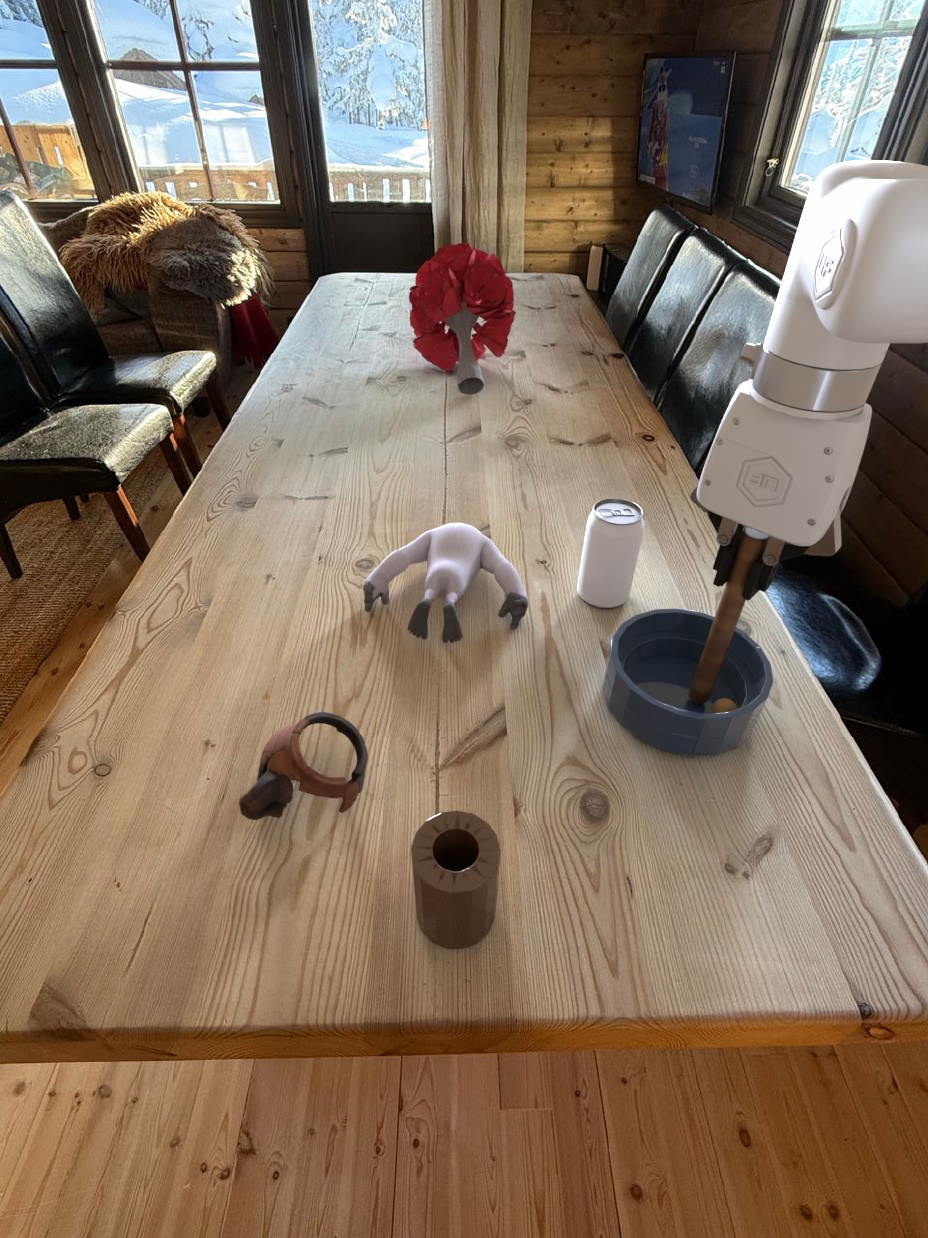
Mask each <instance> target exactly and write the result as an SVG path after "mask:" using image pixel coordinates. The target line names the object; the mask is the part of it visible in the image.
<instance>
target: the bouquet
mask: <svg viewBox="0 0 928 1238" xmlns="http://www.w3.org/2000/svg"><path fill="white" fill-rule="evenodd" d="M414 283H415V285H412V286H411V287H409V292H408V293H409V294H408V300H409V303H410V305H411V310H410V311H409V323H410V324H409V325H410V326H411V329H413V334H414V335H415V338H414V339H413V341H412V343H413V344H412V347H413V348H414V349H415V350H417V352H418V353H420V354H421V357H422V358H423V359H424V360H426V361H427V362H429V363H431V364H432V365H433V366H435V367H437V368H439V369H441V370H442V371H445V372H448V371H449V372H450V371H452V370H453V369H454V368H455V367H456V365H457V368H456V385H457V389H458V391H459V392H460V393H461V394H463V395H468V396H469V395H470V396H472V395H476V394H479V393H480V392H481V391H482V390H483V389H484V387H485V378H484V374H483V372H482V368H481V366H480V364H479V362H478V361H480V359H481V358H482V357H483V356H484V355H485V353H486V352H487V351H486V350H487V349H488V350H489V351H490V352H491V353H492V354H493V355H494V357H496V358H501V357H503V355H505V354H506V352H505V351H506V349H507V347H508V344H509V339H508V337H509V335H510V333H511V331H512V325H513V323H514V321H515V316H516V314H517V312H516V311H515V310H514V306H515V305H514V303H515V297H514V296H515V293H514V286H513V285H514V284H513V281H512V280H511V279H510V278H509V276H507V275H506V271H505V270H504V267H503V264H502V261H501V259H500V258H499V256H497V255H496V254H495V253H494V252H491V253H487V252H486V251H483V250H481V249H476V248H475V247H472V245H471V244H470V243H466V242H459V243H457V244H449V245H447V246H441V247H439V248H438V249H436V251H435V253H434V256H433V257H430V260H426V261H425V262H424V263H422V265H420V267H419V269H418V270H417V272H416V274H415V282H414ZM479 318H481V319H482V321H481V322H479V321H478V320H479ZM481 324H482V325H481ZM472 331H474V332H475V333H472Z"/></svg>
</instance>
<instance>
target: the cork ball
mask: <svg viewBox="0 0 928 1238" xmlns="http://www.w3.org/2000/svg"><path fill="white" fill-rule="evenodd" d="M736 709H737V706H736V704H735V703H734V702H733V701H731V700H729V699H726V698H722V699H719V700H717V701H715V702H714V704H713V706H712V713H728V712H730V711H733V710H736Z"/></svg>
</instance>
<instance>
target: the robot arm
mask: <svg viewBox="0 0 928 1238" xmlns="http://www.w3.org/2000/svg"><path fill="white" fill-rule="evenodd" d="M787 259H788V260H787V263H786V267H785V268H784V269H785V270H784V273H783V276H782V279H781V283H780V287H779V289H778V293H777V295H776V296H777V297H776V300H775V303H774V307H773V311H772V313H771V317H770V320H769V323H768V324H769V325H768V326H767V330H766V334H765V338H764V341H762V342H760V343H756V344H753V343H750V342H749V343H748V342H746V343H745V344H744V345H743V347H742V348H741V351H740V354H739V362H741V363H745V364H747V366H748V367H751V375H750V377H749V379H748V380H745V381H743V382H741V383H740V384H739V385H738V386H737V388H736V390H735V392H734V394H733V396H732V397H731V399H730V402H729V404H728V406H727V408H726V410H725V412H724V414H723V417H722V419H721V421H720V424H719V426H718V429H717V431H716V434H715V437H714V438H713V441H712V444H711V446H710V449H709V452H708V454H707V457H706V460H705V462H704V466H703V468H702V471H701V475H700V478H699V481H698V485H696V487H695V488H694V489H693V491H692V492H691V493H690V496H689V498H690V500H691V501H692V503H694V504H695V505H696V506H697V507H698V508H699V509H700V510H702V511H703V513H705V514H707V517H708V519H709V521H710V523H711V524H712V526H713V528H714V530H715V532H716V537H715V539H716V542H717V544H718V545H719V546H718V550H717V553H716V555H715V559H714V563H713V565H712V570H714V571H716V573H715V575H714V579H713V582H712V585H713V586H716V587H718V588H719V587H723V586H724V585H726V583H727V580H728V577H729V574H730V571H731V568H732V565H733V562H734V559H735V556H736V553H737V550H738V547H739V544H740V542H741V539H742V536H743V533H744V530H745V529H746V528H747V527H749V528H751V529H754V530H756V531H759V532H761V533H764V534H766V535H769V536H770V537H769V539H768V542H767V545H766V547H765V550H764V551H763V552H762V554H761V556H759V557H758V558H757V559H756V560H755V561H754V563H753V565H752V567H751V570H750V573H749V576H748V578H747V581H746V584H745V587H744V589H743V592H742V595H741V596H743V599H745V600H746V601H748V602H749V601H751V599H752V598H754V596H755V595H757V593H759V592H763V593H765V592H766V591H768V589H769V588H770V587H771V585H772V583H773V581H774V579H775V576H776V573H777V570H778V569H779V566H780V564H781V562H783V561H787V560H790V559H794V558H796V557H800V556H803V555H808V556H817V557H819V556H821V557H832V556H835V554H836V553H837V552H839V550H840V549H841V547H842V545H843V544H842V526H841V525H842V523H841V514H842V512H843V511H844V508H845V506H846V504H847V501H848V500H849V499H848V498H849V496H850V494H851V491H852V488H853V485H854V482H855V479H856V475H857V473H858V470H859V466H860V463H861V460H862V457H863V454H864V451H865V447H866V443H867V439H868V436H869V432H870V426H871V420H872V414H873V407H872V405H870V404H869V403H867V401H868V397H869V395H870V392H871V391H872V388H873V385H874V384H875V383H874V382H875V381H876V378H877V376H878V373H879V371H880V368H881V366H882V364H883V361H884V359H885V356H886V354H887V352H888V349H889V347H890V345H891V344H925V343H926V344H928V165H924V164H919V163H913V162H905V161H894V160H877V159H876V160H872V159H870V160H868V159H867V160H866V159H865V160H862V159H861V160H849V161H843V162H839V163H835V164H833V165H830V166H829V167H827V168H825V169H824V170H822V171H821V173H819V174H818V176H817V177H816V179H815V180H814V182H813V183H812V185H811V187H810V189H809V191H808V194H807V197H806V200H805V203H804V206H803V209H802V212H801V216H800V219H799V223H798V226H797V229H796V233H795V236H794V239H793V243H792V246H791V250H790V253H789V256H788V258H787Z"/></svg>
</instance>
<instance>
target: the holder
mask: <svg viewBox="0 0 928 1238" xmlns="http://www.w3.org/2000/svg"><path fill="white" fill-rule="evenodd" d="M501 853H502V850H501V846H500V841H499V837H498V834H497V833H496V831H495V830H494V829H493V827H492V826H491V825H490V823H489V822H488V821H487V820H485V819H483V818H482V817H480V816H478V815H477V814H474V813H473V812H468V811H464V810H459V809H456V810H449V811H447V810H446V811H442V812H440V813H438V814H436V815H434V816H431V817H430V818H428V819H427V820H425V821H424V823H422V825H420V827H419V828H418V830H416V831H415V834H414V837H413V841H412V843H411V846H410V855H411V856H410V857H411V865H412V866H411V867H412V876H413V877H412V878H413V889H414V890H413V891H414V900H415V901H414V902H415V911H416V919H417V922H418V926H419V928H420V929H421V931H422V933H423V934H424V936H426V938H427V939H428V940H429V941H430V942H432V943H434V944H435V945H437V946H439V947H441V948H443V949H448V950H464V949H468V948H470V947H473V946H475V945H477V944H478V943H480V941H482V940H483V939H484V938H486V936H487V935H488V933H489V932H490V930H491V929H492V926H493V924H494V921H495V917H496V911H497V904H498V891H499V890H498V889H499V880H500V879H499V878H500V868H501V867H500V866H501V864H500V863H501Z"/></svg>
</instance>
